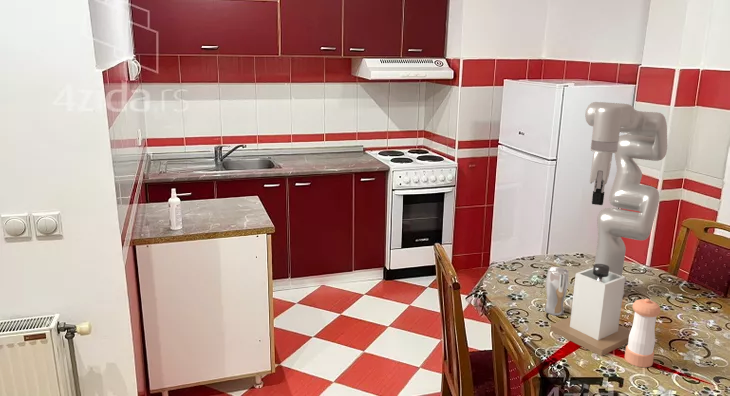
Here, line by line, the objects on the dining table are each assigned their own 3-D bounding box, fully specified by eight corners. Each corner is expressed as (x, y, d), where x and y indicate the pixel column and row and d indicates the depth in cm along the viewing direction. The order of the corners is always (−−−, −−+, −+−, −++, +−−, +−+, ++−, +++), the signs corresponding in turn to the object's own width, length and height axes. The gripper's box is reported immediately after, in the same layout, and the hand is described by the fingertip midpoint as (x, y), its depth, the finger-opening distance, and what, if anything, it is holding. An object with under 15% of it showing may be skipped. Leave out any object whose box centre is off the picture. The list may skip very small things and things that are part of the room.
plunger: (590, 318, 177) (597, 260, 172) (612, 328, 171) (620, 267, 166) (575, 324, 173) (582, 265, 168) (597, 334, 167) (605, 273, 161)
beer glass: (566, 317, 184) (570, 275, 180) (544, 315, 185) (548, 273, 181) (563, 307, 190) (567, 267, 187) (542, 305, 192) (546, 265, 188)
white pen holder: (585, 316, 185) (592, 260, 179) (636, 339, 170) (645, 278, 165) (550, 330, 175) (556, 271, 170) (601, 356, 161) (609, 292, 155)
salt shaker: (619, 354, 162) (628, 294, 157) (643, 353, 162) (652, 293, 157) (633, 368, 155) (642, 305, 150) (658, 366, 155) (668, 304, 150)
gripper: (593, 141, 177) (586, 197, 182) (588, 149, 164) (582, 208, 169) (618, 143, 174) (611, 199, 179) (616, 151, 161) (608, 211, 166)
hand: (597, 203), depth 174 cm, fingers closed
